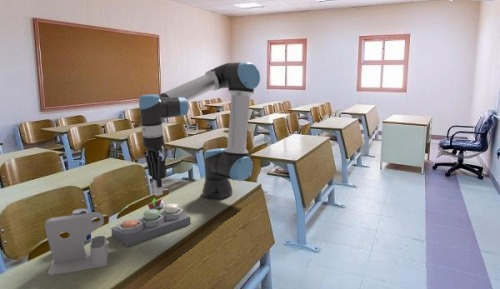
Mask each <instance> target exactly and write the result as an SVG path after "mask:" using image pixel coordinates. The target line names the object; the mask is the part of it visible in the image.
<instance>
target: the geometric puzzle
mask: <svg viewBox="0 0 500 289" xmlns="http://www.w3.org/2000/svg"><path fill="white" fill-rule="evenodd" d="M156 199H157V198H156V197H153V199H152V200H151V201H150V203H147V207H148V208H149V210H152V209H155V210H158V211H159V213H160V212H161V211H162V210H163V209H164V206H165V205H166V203H165V201H163V199H160V198H159V199H158V200H156Z"/></svg>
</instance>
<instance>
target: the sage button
mask: <svg viewBox="0 0 500 289" xmlns="http://www.w3.org/2000/svg"><path fill="white" fill-rule="evenodd" d="M143 216H144V219H145V220H147V221H152V220H156V219H158V218H159V211H158V210H155V209H152V210H150V209H148V210H144V212H143Z"/></svg>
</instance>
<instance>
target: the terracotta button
mask: <svg viewBox="0 0 500 289" xmlns="http://www.w3.org/2000/svg"><path fill="white" fill-rule="evenodd" d="M126 220H127V219H126ZM126 220H123V221H124V222H123V221H122V222H123V223H122V228H132V227H135V226H137V225H138V222H137V221H136V220H135V219H129V220H127V221H126Z"/></svg>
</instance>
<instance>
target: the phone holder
mask: <svg viewBox="0 0 500 289" xmlns="http://www.w3.org/2000/svg"><path fill="white" fill-rule="evenodd" d="M94 218H98V219H99V220H98V221H92V219H94ZM104 219H105V218H104V214H102V213H101V212H98V211H94V212H88V213H85V214H77V215H72V214H70V215H63V216H57V217H56V216H55V217H51V218H47V219H46V221H45V223H44V224H45V225H44V231H45V233H46V237H47V240H48V245H49V248H50V252H51V257H52V260H51V262H50V264H49V268H48V270H47V275H48V274H49V275H52V276H55V275H54V274H57V275H61V274H60V273H63V274H68V273H72V272H73V273H74V272H80V271H84V270H90V269H95V268H101V267H106V265H107V264H108V252H109V251H108V248H107V247H108V246H107V245H108V244H107V237H106V236H104V235H98V236H97V235H96V236H94V237H92V238H91V241H90V245H89V249H90V250H89V252H86V249H85V244H84V243H83V238H84V237H86V236H87V235H89V234H90V233H91V234H92V233H93V232H95V231H96V230H97V229H99V228H101V227H102V226H103V225H104V224H105V223H104V222H105V220H104ZM61 233H68V235H69V236H68V237H66V238H63V237H62V236H60V235H61ZM49 275H48V276H49Z"/></svg>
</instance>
